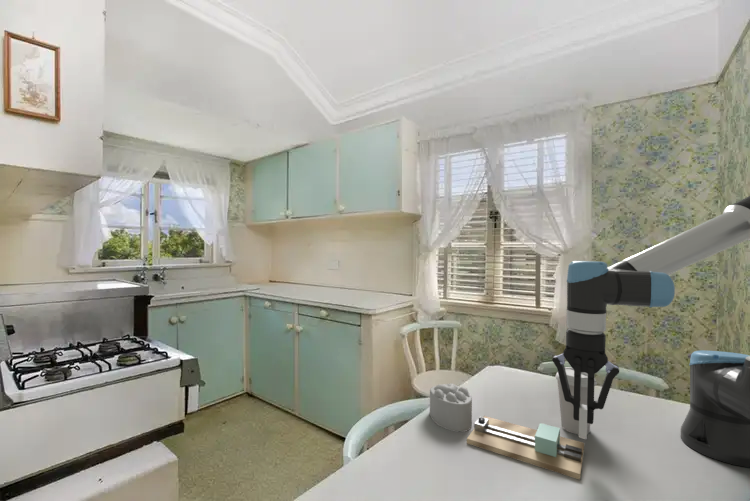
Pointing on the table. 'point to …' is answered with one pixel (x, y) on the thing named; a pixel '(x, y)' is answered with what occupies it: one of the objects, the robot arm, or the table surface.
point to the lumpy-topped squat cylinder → (451, 407)
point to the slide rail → (483, 424)
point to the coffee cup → (568, 407)
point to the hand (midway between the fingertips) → (582, 435)
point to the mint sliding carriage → (547, 439)
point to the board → (527, 448)
